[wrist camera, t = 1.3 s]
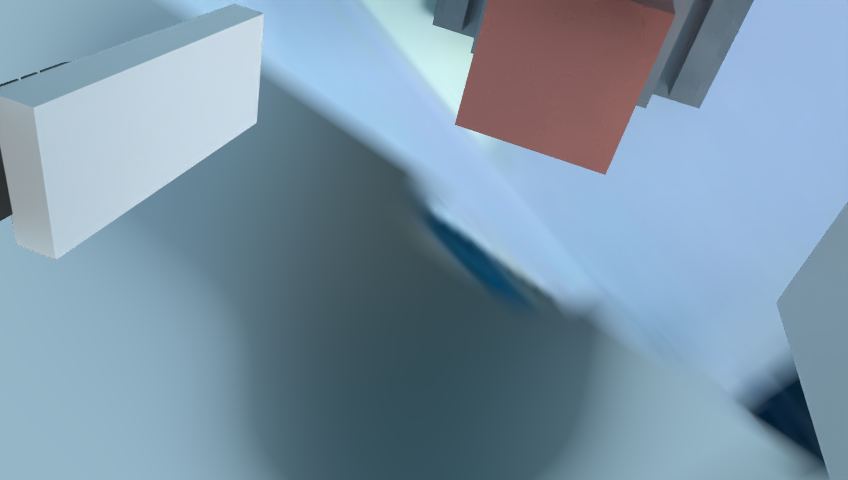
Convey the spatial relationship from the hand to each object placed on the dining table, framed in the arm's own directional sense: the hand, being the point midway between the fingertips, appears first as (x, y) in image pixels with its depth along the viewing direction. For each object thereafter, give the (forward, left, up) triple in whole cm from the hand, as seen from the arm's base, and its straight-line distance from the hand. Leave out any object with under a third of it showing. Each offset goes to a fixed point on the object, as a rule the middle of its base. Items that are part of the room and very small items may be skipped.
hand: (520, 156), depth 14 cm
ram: (-1, 0, -17) cm, 17 cm away
